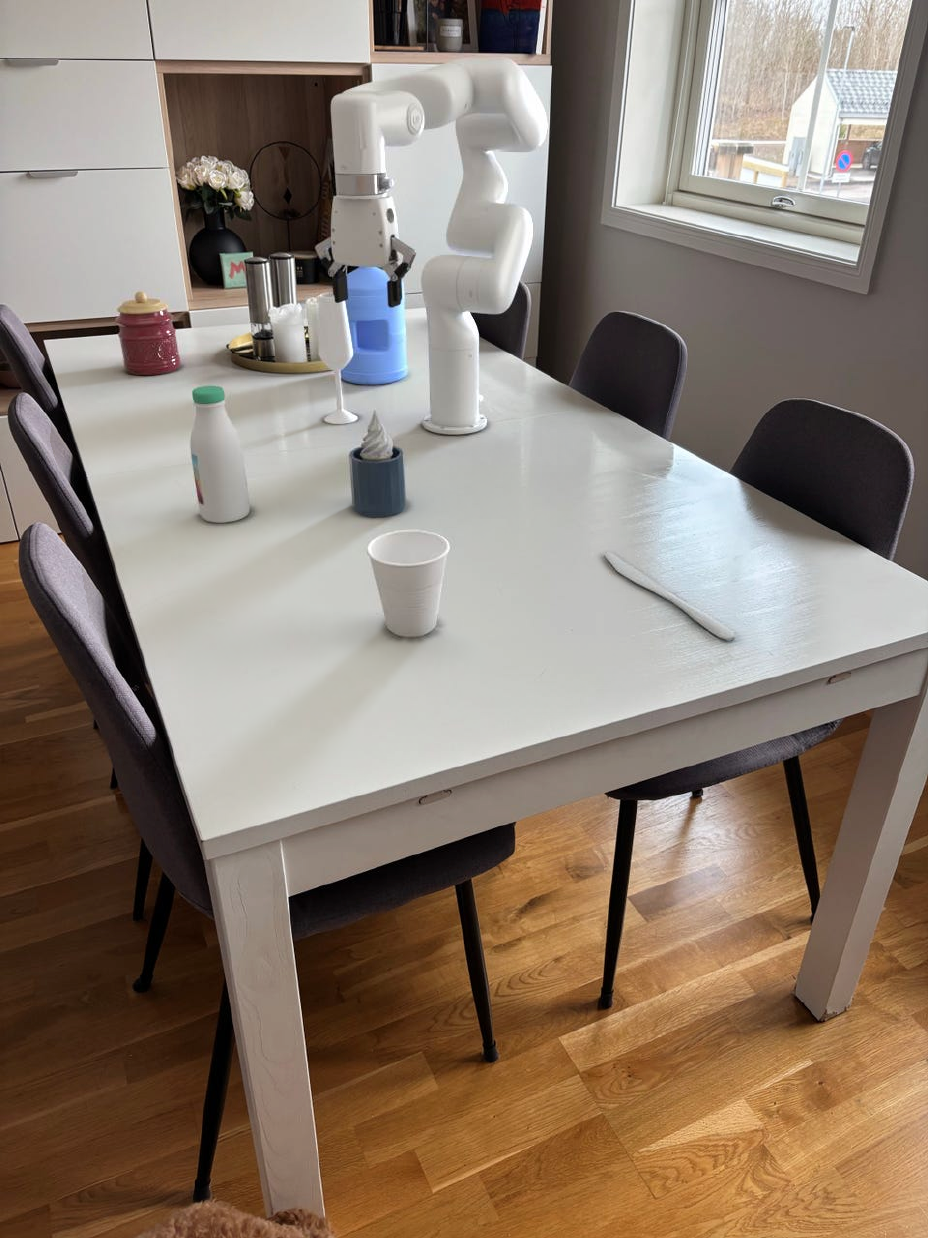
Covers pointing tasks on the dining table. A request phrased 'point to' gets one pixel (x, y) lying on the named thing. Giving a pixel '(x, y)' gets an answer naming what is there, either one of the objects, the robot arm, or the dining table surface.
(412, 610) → the cup
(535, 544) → the dining table surface
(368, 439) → the ice cream cone
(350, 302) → the water jug
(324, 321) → the champagne flute
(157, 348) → the kitchen canister
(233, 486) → the milk bottle
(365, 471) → the tumbler
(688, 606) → the butter knife
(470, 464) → the dining table surface
